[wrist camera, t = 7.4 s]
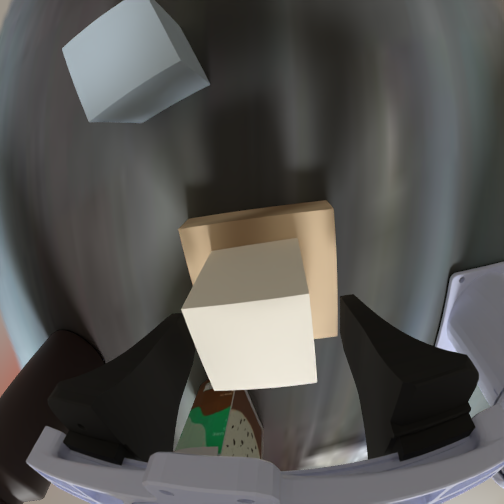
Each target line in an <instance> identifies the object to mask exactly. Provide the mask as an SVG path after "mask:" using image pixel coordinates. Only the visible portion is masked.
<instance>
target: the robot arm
mask: <svg viewBox="0 0 504 504" xmlns="http://www.w3.org/2000/svg"><path fill="white" fill-rule="evenodd" d="M461 277H462V278H461ZM460 278H461V279H460ZM340 334H341V339H342V343H343V348H344V352H345V355H346V357H347V360H348V363H349V366H350V369H351V372H352V375H353V378H354V381H355V384H356V387H357V390H358V394H359V399H360V404H361V409H362V415H363V421H364V428H365V435H366V443H367V452H368V460H364V461H359V462H354V463H349V464H343V465H337V466H331V467H323V468H315V469H306V470H296V471H281V472H280V470H279V469H278V468H277V467H276V466H275V465H274V464H273V463H271V462H269V461H265V460H262V459H259V458H250V457H231V456H208V455H195V454H184V453H175V452H173V443H174V435H175V427H176V421H177V415H178V410H179V405H180V401H181V398H182V395H183V392H184V389H185V386H186V383H187V380H188V377H189V374H190V370H191V367H192V364H193V359H194V353H195V344H194V342H193V339H192V337H191V334H190V331H189V329H188V326H187V324H186V321H185V318H184V316H183V313H175V314H171V315H170V316H169V317H167V318H166V319H165V320H164V321H163V322H162V323H160V324H159V325H158V326H157V327H156V328H155V329H153V330H152V331H151V332H150V333H149V334H148V335H146V336H145V337H144V338H143V339H142V340H140V341H139V342H138V343H137V344H135V345H134V346H133V347H131V348H130V349H129V350H127V351H126V352H124V353H123V354H121V355H120V356H118V357H117V358H115V359H114V360H112V361H110V362H108V363H106V364H104V365H102V366H101V367H99V368H97V369H94V370H92V371H90V372H87V373H85V374H82V375H80V376H77V377H74V378H70V379H67V380H64V381H60V382H59V383H58V384H57V386H56V387H55V389H54V390H53V392H52V393H51V395H50V396H49V398H48V405H49V407H50V409H51V410H52V412H53V413H54V414H55V415H56V416H57V418H58V419H59V420H60V421H61V422H62V423H63V424H64V425H65V427H66V428H67V429H68V430H69V431H68V433H67V435H66V434H64V433H63V432H61V431H59V430H56V429H54V428H51V427H48V426H45V428H44V430H43V431H42V433H41V435H40V437H39V438H38V440H37V442H36V444H35V445H34V447H33V449H32V451H31V453H30V454H29V456H28V458H27V460H26V463H27V464H28V465H29V466H31V467H32V468H33V469H34V470H35V471H37V472H38V473H39V474H40V475H42V476H43V477H44V478H46V479H47V480H48V481H50V482H51V483H52V484H54V485H55V486H57V487H58V488H60V489H62V490H63V491H66V492H68V493H70V494H72V495H74V496H76V497H78V498H80V499H82V500H84V501H86V502H88V503H91V504H442V503H444V502H446V501H448V500H450V499H452V498H454V497H456V496H458V495H460V494H462V493H464V492H466V491H468V490H470V489H472V488H474V487H475V486H477V485H479V484H481V483H483V482H485V481H486V480H488V479H490V478H491V477H492V479H493V480H494V481H495V482H496V483H497V484H498V485H499V486H501V487H502V488H503V489H504V262H500V263H496V264H492V265H487V266H483V267H479V268H474V269H470V270H466V271H461V272H456V273H454V274H453V275H452V276H451V277H450V280H449V286H448V292H447V297H446V302H445V307H444V312H443V316H442V320H441V325H440V329H439V333H438V336H437V340H436V344H435V347H434V346H432V345H429V344H426V343H424V342H422V341H419V340H417V339H415V338H413V337H411V336H409V335H407V334H405V333H404V332H402V331H400V330H398V329H397V328H395V327H393V326H392V325H391V324H389V323H388V322H386V321H385V320H383V319H382V318H381V317H379V316H378V315H377V314H376V313H374V312H373V311H372V310H371V309H370V308H368V307H367V306H366V305H365V304H364V303H363V302H362V301H360V300H359V299H358V298H357V297H356V296H355V295H354V294H352V295H345V296H340ZM456 351H457V352H458V353H456ZM477 385H478V386H479V388H480V390H481V391H482V393H483V395H484V397H485V399H486V400H487V402H488V404H489V406H490V408H488V409H486V410H484V411H482V412H480V413H478V414H476V415H475V416H474V417H473V418H472V419H471V417H470V415H469V412H470V411H471V407H470V405H469V403H468V401H469V399H470V397H471V395H472V393H473V392H474V390H475V388H476V386H477Z"/></svg>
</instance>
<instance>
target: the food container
mask: <svg viewBox="0 0 504 504" xmlns="http://www.w3.org/2000/svg"><path fill="white" fill-rule="evenodd" d="M173 452H175V453H184V454H195V455H208V456H231V457H250V458H259V459H262V460H263V427H262V424H261V422H260V420H259V417H258V415H257V413H256V410H255V408H254V406H253V403H252V401H251V399H250V396H249V394H248V391H247V390H227V391H214V389H213V387H212V385H211V382H210V380H209V378H208V379H207V380H206V381H205V382H204V383H202V384H201V385H200V388H199V391H198V393H197V396H196V398H195V401H194V403H193V406H192V408H191V411H190V414H189V416H188V419H187V421H186V424H185V426H184V429H183V431H182V434H181V437H180V439H179V442H178V444H177V447H176V449H175V451H173Z"/></svg>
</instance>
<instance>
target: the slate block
mask: <svg viewBox="0 0 504 504" xmlns="http://www.w3.org/2000/svg"><path fill="white" fill-rule="evenodd" d="M62 51H63V54H64V57H65V60H66V63H67V66H68V68H69V71H70V74H71V77H72V80H73V82H74V85H75V88H76V90H77V93H78V96H79V98H80V101H81V103H82V106H83V108H84V111H85V113H86V116H87V118H88V121H89V122H125V123H143V122H145V121H147V120H148V119H150V118H151V117H153V116H155V115H156V114H158V113H160V112H161V111H163V110H165V109H166V108H168V107H170V106H171V105H173V104H175V103H177V102H178V101H180V100H182V99H184V98H186V97H188V96H189V95H191V94H193V93H195V92H197V91H199V90H201V89H203V88H205V87H207V86H209V85H210V83H209V81H208V79H207V77H206V75H205V73H204V71H203V69H202V67H201V65H200V63H199V61H198V59H197V57H196V56H195V54H194V52H193V50H192V48H191V46H190V44H189V42H188V41H187V39H186V37H185V35H184V33H183V31H182V29H181V28H180V26H179V25H178V24H177V23H176V22H175V21H174V20H173V19H172V17H171V16H170V15H169V14H168V13H167V12H166V11H165V10H164V9H163V8H162V7H161V6H160V5H159V4H158V3H157V2H156V1H155V0H124V1H122V2H121V3H119V4H118V5H116V6H115V7H113V8H112V9H110V10H109V11H108V12H106V13H105V14H103V15H102V16H101V17H99V18H98V19H97V20H95V21H94V22H93V23H92V24H90V25H89V26H88V27H86V28H85V29H84V30H83V31H82V32H80V33H79V34H78V35H77V36H76V37H74V38H73V39H72V40H71V41H70V42H69V43H68V44H67V45H65V46H64V47H63V48H62Z"/></svg>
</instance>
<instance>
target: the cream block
mask: <svg viewBox="0 0 504 504" xmlns="http://www.w3.org/2000/svg"><path fill="white" fill-rule="evenodd" d="M181 310H182V313H183V316H184V318H185V321H186V324H187V326H188V329H189V331H190V334H191V337H192V339H193V342H194V344H195V347H196V349H197V352H198V354H199V356H200V359H201V361H202V364H203V366H204V368H205V371H206V373H207V375H208V378H209V380H210V382H211V385H212V387H213V389H214V391H227V390H248V389H263V388H275V387H285V386H294V385H302V384H310V383H317V373H316V360H315V348H314V337H313V326H312V316H311V307H310V297H309V291H308V286H307V281H306V276H305V271H304V266H303V261H302V256H301V252H300V247H299V242H298V238H291V239H285V240H278V241H272V242H265V243H259V244H252V245H246V246H240V247H233V248H227V249H221V250H214V251H211V253H210V255H209V257H208V258H207V260H206V262H205V264H204V266H203V268H202V270H201V272H200V274H199V275H198V277H197V279H196V281H195V283H194V285H193V287H192V289H191V291H190V293H189V295H188V297H187V299H186V301H185V302H184V304H183V306H182V308H181Z"/></svg>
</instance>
